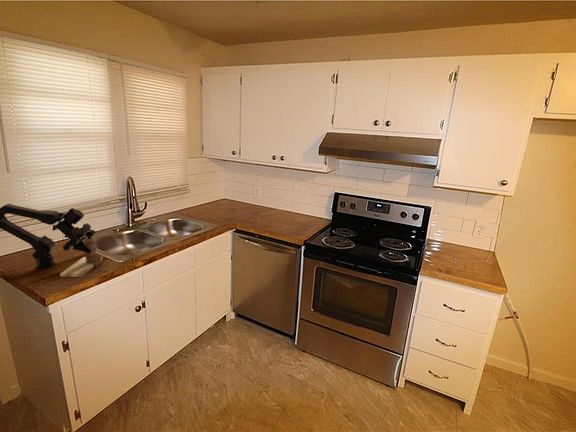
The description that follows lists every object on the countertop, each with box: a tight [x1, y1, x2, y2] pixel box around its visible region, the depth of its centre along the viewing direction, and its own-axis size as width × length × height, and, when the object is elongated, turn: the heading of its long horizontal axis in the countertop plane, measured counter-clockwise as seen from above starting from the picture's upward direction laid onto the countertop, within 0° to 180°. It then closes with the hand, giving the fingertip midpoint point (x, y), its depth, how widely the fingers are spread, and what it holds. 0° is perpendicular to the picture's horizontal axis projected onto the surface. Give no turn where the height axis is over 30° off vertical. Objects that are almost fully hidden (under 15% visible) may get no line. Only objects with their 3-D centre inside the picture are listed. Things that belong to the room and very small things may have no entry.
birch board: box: [59, 256, 103, 278], centre depth 163 cm, size 10×20×2 cm, turn 3°
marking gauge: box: [83, 239, 102, 268], centre depth 165 cm, size 6×5×14 cm
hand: (92, 251), depth 164 cm, fingers closed on marking gauge, 4 cm apart
